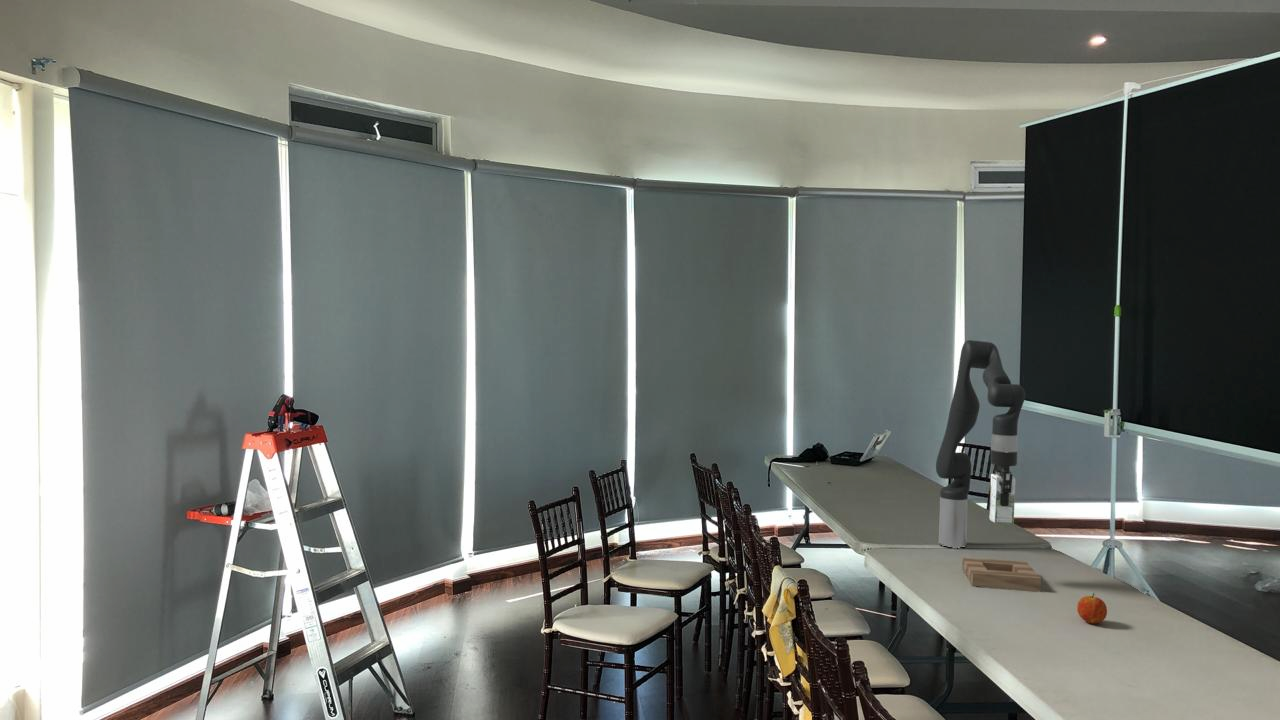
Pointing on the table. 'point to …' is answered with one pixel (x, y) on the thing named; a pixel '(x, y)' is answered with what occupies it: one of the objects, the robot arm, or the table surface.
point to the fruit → (1092, 609)
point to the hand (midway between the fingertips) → (1002, 503)
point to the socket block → (1001, 574)
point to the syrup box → (996, 510)
